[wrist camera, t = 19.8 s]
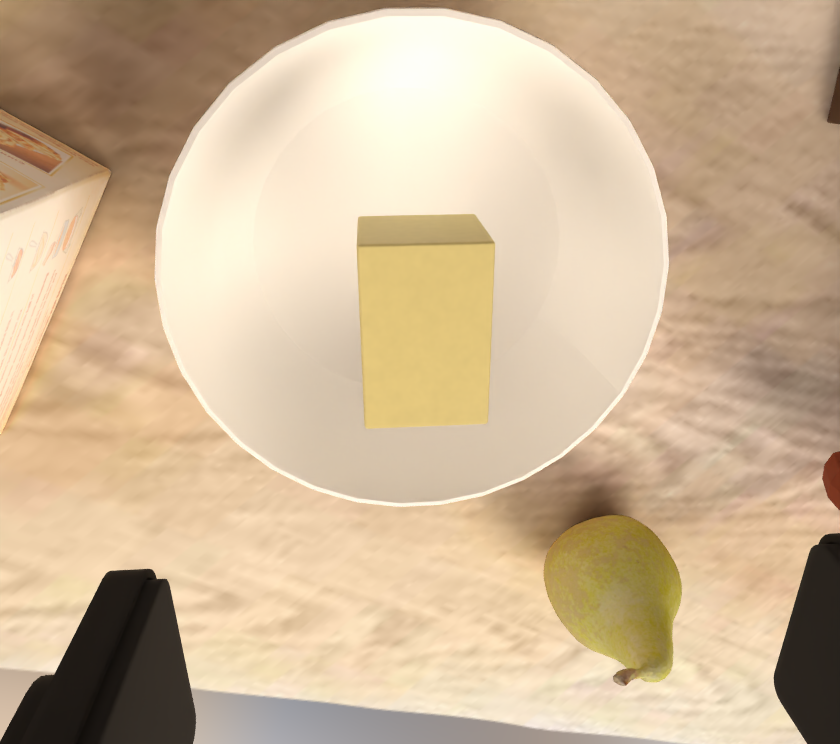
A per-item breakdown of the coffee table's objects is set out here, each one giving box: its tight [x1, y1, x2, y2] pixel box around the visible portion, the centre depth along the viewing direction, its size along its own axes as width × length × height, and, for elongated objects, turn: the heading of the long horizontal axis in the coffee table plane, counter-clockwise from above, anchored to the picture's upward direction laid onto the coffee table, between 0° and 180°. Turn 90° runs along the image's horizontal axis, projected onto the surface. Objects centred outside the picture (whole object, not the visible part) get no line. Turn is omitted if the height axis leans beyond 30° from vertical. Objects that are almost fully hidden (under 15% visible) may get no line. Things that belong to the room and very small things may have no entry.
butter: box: [357, 214, 495, 429], centre depth 23 cm, size 6×4×4 cm, turn 0°
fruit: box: [544, 515, 682, 686], centre depth 33 cm, size 7×8×12 cm
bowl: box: [155, 8, 669, 507], centre depth 28 cm, size 18×18×7 cm
